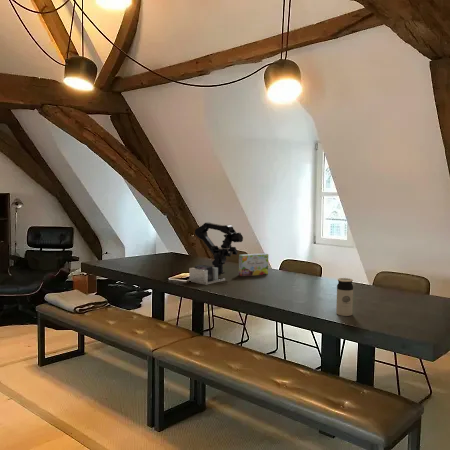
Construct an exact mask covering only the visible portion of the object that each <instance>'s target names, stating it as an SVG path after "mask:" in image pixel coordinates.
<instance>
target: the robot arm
mask: <svg viewBox="0 0 450 450" xmlns="http://www.w3.org/2000/svg"><path fill="white" fill-rule="evenodd" d="M209 229H210V230H215V231H219V232H221V233H223V237H224V238H223V239H224V240H222V244H220V246H218V245H215V244H214V243H213V241H212V239H211V238H210V237H209V236H208V231H209ZM194 235H195V236H196V237H197V238H198V239H199V240H202V241H203V243H204V244H205V246H206V247H207V249H209V251H210V252H211V253H212V255H213V261H211V264H212V265H213V267H216V268H218V275H219V274H220V275H221V274H225V271H224V265H225V263H226V262H227V257H229V258H231V256H232V255H233V256H234V255H238V253H239V252H238V250H237V248H236V246H232V243H242V242H243V240H244V237H243V235H242V233H241V232H236V230H235V229H234V226H233V225H231V224H226V225H225V224H217V223H212V222H209V221H208V222H204V223H203V224H202V225H201V226H199V227H197V228H195V230H194Z"/></svg>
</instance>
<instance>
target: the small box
mask: <svg viewBox="0 0 450 450" xmlns="http://www.w3.org/2000/svg"><path fill="white" fill-rule="evenodd" d="M213 267H214V265H213V266H212V265H206V264H198V265H195V266H194V268H198V269H204V270H208V282H209V281H212V268H213Z"/></svg>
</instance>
